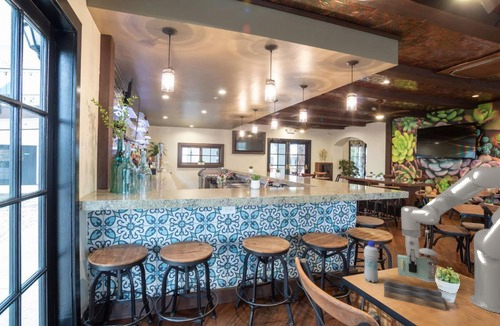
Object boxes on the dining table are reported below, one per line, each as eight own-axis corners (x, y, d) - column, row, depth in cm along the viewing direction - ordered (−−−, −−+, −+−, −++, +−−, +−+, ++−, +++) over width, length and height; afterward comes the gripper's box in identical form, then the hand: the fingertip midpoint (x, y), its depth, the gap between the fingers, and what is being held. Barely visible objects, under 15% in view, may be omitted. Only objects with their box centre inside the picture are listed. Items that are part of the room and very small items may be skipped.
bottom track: (440, 296, 112) (440, 289, 112) (445, 310, 102) (445, 302, 102) (384, 285, 123) (384, 278, 123) (384, 296, 112) (384, 288, 112)
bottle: (375, 278, 130) (375, 239, 130) (380, 284, 124) (380, 243, 124) (361, 277, 131) (361, 239, 131) (366, 283, 124) (366, 243, 124)
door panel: (427, 277, 120) (426, 258, 120) (428, 280, 117) (427, 260, 117) (398, 272, 125) (397, 254, 126) (398, 275, 122) (397, 256, 122)
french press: (411, 275, 134) (411, 228, 134) (427, 272, 137) (427, 226, 137) (429, 283, 124) (429, 233, 124) (446, 280, 128) (446, 231, 128)
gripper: (422, 237, 113) (424, 279, 112) (418, 229, 127) (419, 266, 127) (402, 235, 116) (404, 276, 116) (401, 228, 131) (402, 263, 130)
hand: (412, 270), depth 121 cm, fingers closed on door panel, 3 cm apart
